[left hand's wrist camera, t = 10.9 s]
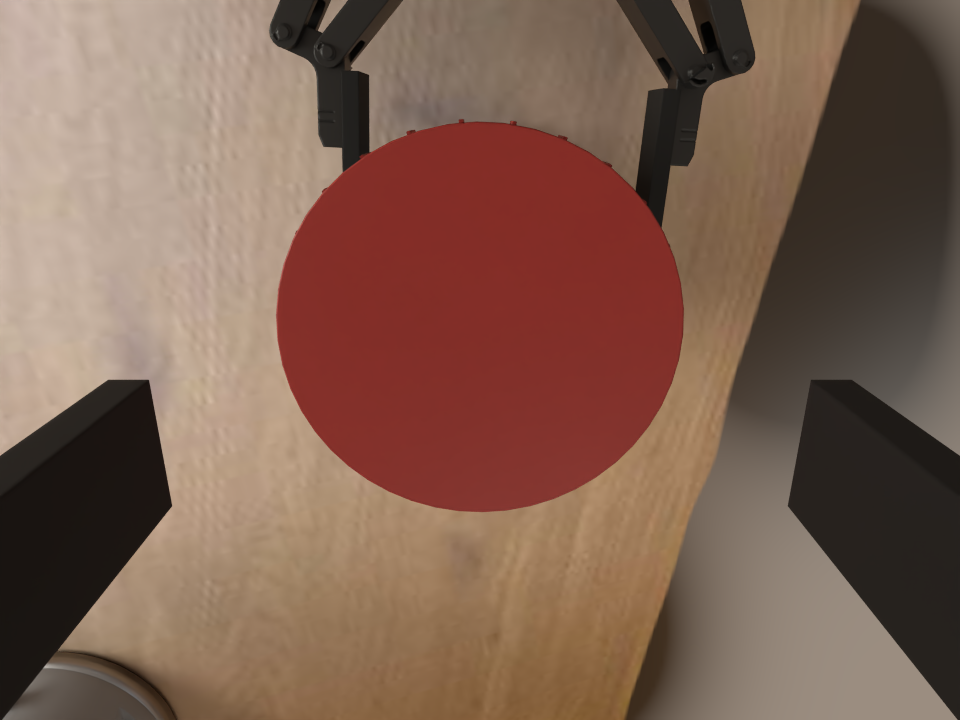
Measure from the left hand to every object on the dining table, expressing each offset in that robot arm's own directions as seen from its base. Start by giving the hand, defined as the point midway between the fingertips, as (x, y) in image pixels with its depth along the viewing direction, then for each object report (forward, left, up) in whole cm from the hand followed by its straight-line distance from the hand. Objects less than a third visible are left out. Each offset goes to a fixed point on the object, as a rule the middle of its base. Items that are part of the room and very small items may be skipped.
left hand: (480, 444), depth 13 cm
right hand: (+1, -1, -20) cm, 20 cm away
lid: (0, 0, -7) cm, 7 cm away
